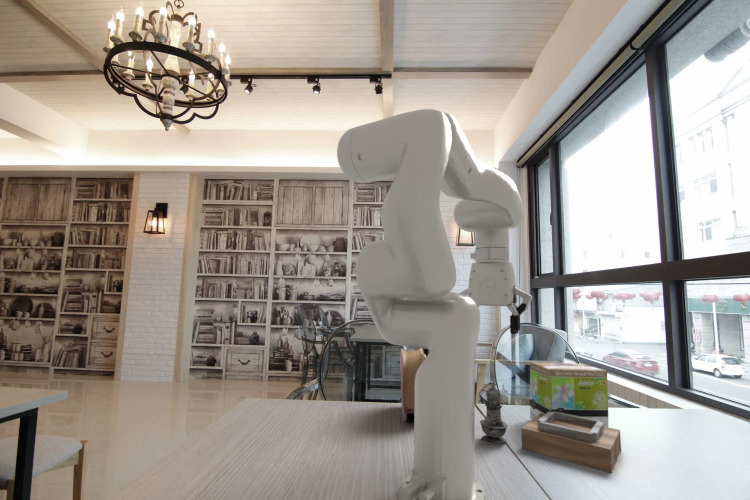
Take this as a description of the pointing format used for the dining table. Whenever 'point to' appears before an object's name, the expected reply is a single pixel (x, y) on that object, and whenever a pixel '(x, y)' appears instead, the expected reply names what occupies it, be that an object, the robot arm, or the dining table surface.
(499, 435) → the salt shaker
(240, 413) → the dining table surface
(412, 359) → the face sculpture
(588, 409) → the tea box
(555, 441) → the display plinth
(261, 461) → the dining table surface
